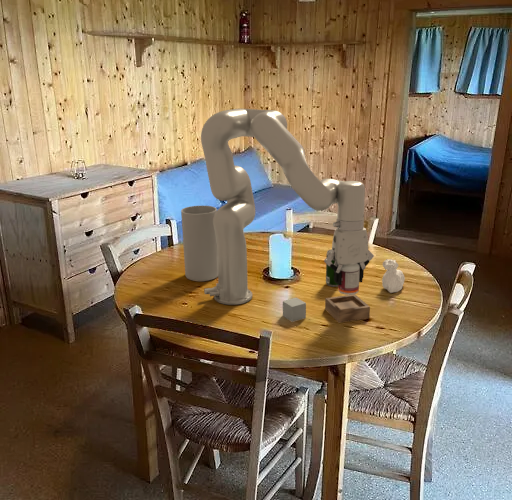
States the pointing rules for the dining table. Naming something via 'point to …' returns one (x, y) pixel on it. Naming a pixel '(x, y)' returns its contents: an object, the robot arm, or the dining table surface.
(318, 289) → the dining table surface
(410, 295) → the dining table surface
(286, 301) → the grey cube
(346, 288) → the pill bottle
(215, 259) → the cylinder vase
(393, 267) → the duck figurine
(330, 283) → the beer can
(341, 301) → the brown square tray
